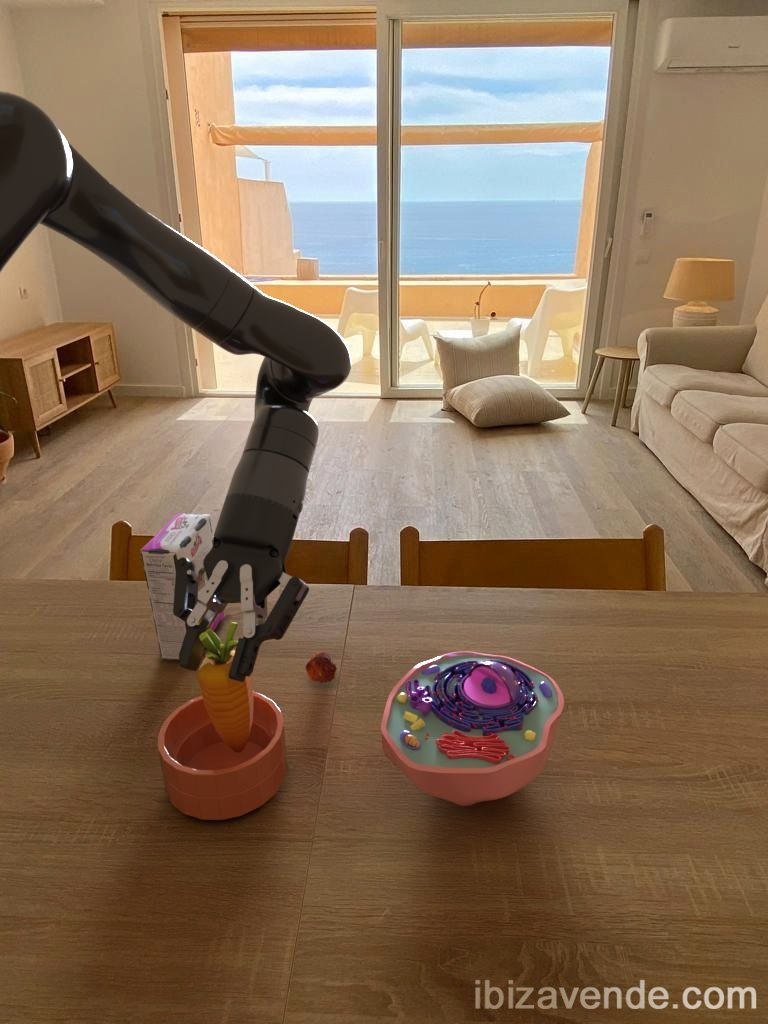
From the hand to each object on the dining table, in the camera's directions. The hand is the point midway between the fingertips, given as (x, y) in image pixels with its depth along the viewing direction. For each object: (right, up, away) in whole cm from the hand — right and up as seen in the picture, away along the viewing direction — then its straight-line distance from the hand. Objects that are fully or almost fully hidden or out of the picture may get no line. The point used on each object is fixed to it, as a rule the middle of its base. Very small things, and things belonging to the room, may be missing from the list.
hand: (212, 673), depth 64 cm
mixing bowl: (0, -13, +7) cm, 15 cm away
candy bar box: (-10, -2, +31) cm, 33 cm away
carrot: (+1, -10, +6) cm, 11 cm away
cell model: (+25, -12, +8) cm, 29 cm away
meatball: (+8, -6, +22) cm, 24 cm away
